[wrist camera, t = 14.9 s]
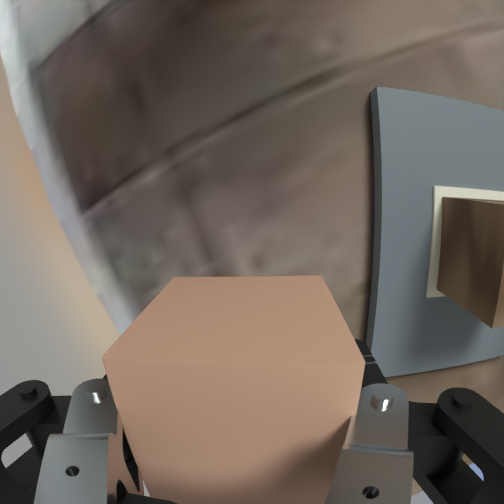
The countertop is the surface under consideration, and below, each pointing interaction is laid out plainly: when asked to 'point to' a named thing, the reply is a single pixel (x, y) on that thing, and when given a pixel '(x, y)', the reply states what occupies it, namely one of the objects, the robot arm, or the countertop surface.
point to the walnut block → (473, 257)
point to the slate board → (426, 226)
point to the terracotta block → (237, 389)
